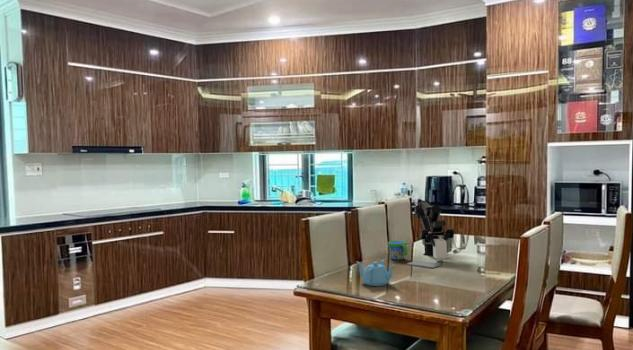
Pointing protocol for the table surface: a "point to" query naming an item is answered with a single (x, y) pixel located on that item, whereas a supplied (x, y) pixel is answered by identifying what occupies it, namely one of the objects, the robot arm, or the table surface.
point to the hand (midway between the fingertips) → (440, 246)
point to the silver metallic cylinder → (440, 260)
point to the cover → (440, 248)
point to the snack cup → (397, 249)
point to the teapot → (375, 274)
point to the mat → (424, 264)
